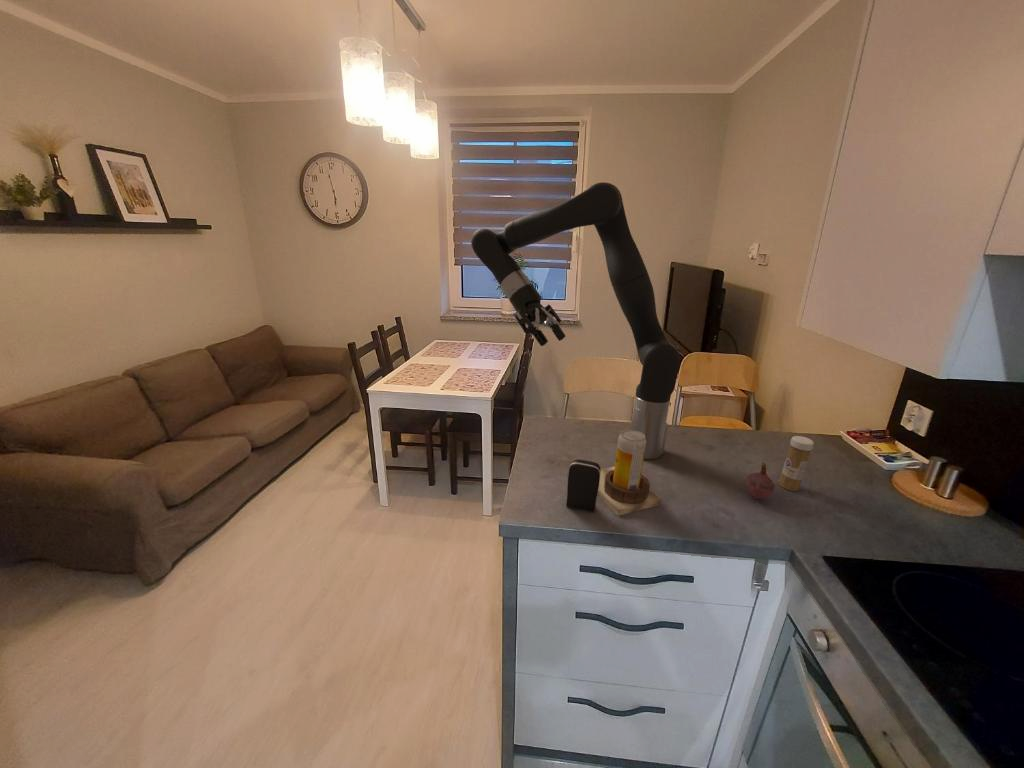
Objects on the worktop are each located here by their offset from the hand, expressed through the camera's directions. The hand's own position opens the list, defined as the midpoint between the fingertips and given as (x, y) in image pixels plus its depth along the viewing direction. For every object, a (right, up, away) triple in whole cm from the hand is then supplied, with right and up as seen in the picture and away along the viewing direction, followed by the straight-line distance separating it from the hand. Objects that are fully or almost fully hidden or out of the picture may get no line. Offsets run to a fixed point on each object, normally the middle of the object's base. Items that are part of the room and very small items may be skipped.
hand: (554, 341), depth 106 cm
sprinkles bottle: (+60, -38, -2) cm, 71 cm away
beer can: (+16, -37, -9) cm, 41 cm away
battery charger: (+5, -39, -12) cm, 41 cm away
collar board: (+15, -37, -6) cm, 41 cm away
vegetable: (+48, -39, -7) cm, 63 cm away
